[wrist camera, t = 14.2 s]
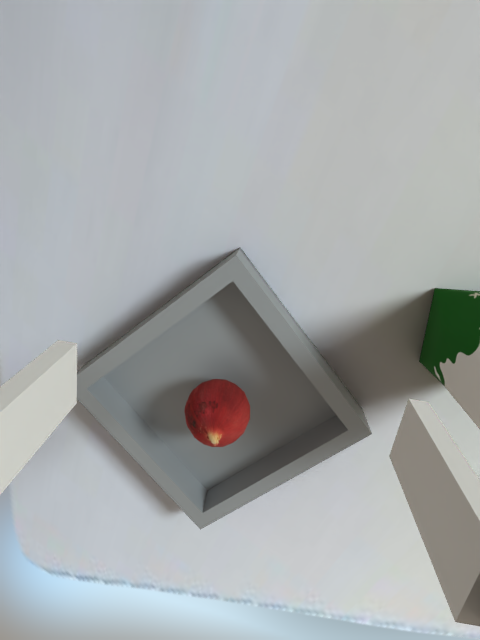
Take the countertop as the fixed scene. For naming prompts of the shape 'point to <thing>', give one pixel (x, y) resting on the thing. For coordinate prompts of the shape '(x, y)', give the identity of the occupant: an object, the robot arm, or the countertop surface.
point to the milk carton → (455, 346)
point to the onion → (217, 412)
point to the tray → (229, 364)
